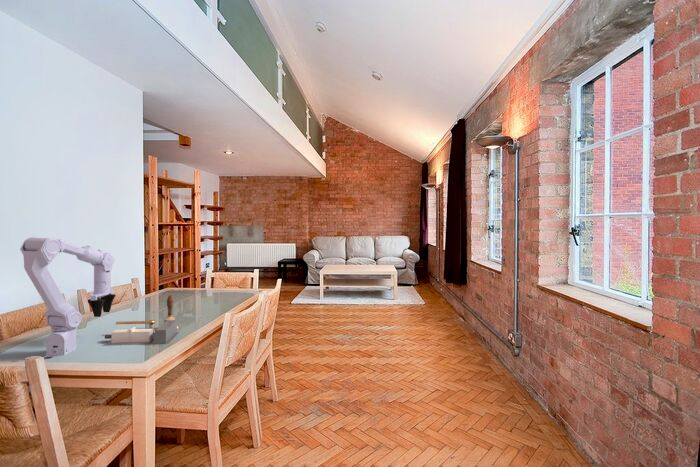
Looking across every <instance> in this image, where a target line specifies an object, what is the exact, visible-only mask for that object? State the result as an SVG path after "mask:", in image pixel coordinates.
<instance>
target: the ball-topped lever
mask: <svg viewBox="0 0 700 467" xmlns="http://www.w3.org/2000/svg"><path fill="white" fill-rule="evenodd" d="M155 323H156V320H155V319H153V320H152V319H150V320H136V321H135V320H131V321H130V320H128V321H116V322H115V325H143V324H144V325H147V324H148V325H149V324H154V325H155Z"/></svg>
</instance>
